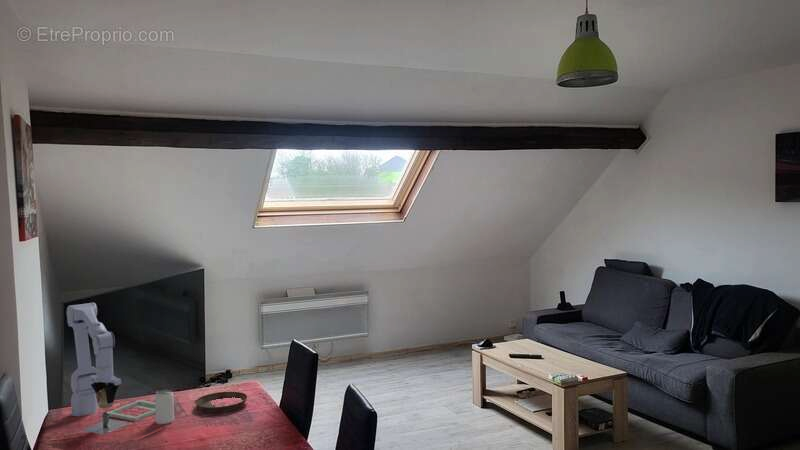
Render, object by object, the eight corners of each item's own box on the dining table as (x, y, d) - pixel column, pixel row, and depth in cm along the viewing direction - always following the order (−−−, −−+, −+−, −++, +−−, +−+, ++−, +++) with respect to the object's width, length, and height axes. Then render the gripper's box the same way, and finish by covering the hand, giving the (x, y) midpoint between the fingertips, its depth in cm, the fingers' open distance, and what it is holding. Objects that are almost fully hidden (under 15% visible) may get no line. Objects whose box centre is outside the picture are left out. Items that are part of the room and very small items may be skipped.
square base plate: (80, 431, 219) (80, 415, 218) (109, 420, 229) (108, 404, 229) (103, 436, 213) (102, 419, 213) (131, 425, 224) (130, 409, 224)
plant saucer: (209, 397, 256) (209, 390, 256) (255, 398, 253) (255, 391, 253) (185, 414, 235) (185, 406, 235) (235, 416, 232) (235, 407, 232)
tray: (106, 417, 233) (106, 412, 233) (140, 404, 247) (139, 400, 247) (135, 423, 226) (135, 418, 226) (168, 409, 241) (168, 405, 240)
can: (167, 426, 222) (166, 394, 222) (152, 425, 224) (151, 393, 223) (177, 420, 229) (176, 389, 228) (162, 419, 230) (161, 388, 230)
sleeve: (93, 408, 219) (92, 392, 219) (107, 403, 224) (106, 387, 224) (101, 410, 217) (101, 393, 217) (115, 405, 223) (114, 389, 222)
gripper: (81, 366, 221) (83, 402, 221) (108, 370, 214) (110, 407, 215) (98, 361, 227) (99, 397, 227) (125, 365, 221) (126, 401, 221)
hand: (106, 401), depth 222 cm, fingers closed on sleeve, 4 cm apart
